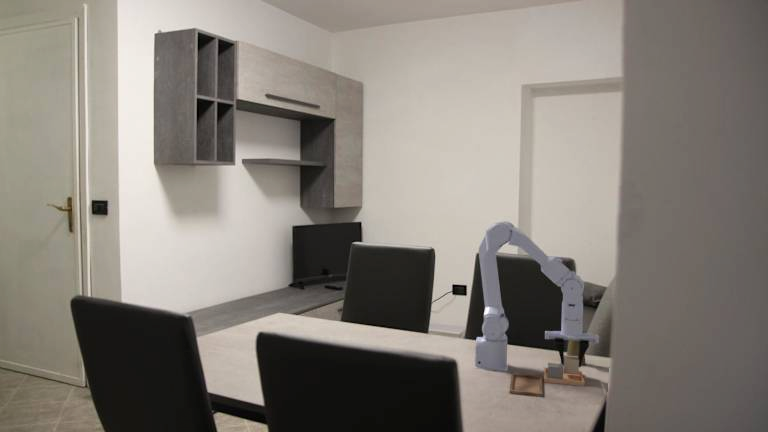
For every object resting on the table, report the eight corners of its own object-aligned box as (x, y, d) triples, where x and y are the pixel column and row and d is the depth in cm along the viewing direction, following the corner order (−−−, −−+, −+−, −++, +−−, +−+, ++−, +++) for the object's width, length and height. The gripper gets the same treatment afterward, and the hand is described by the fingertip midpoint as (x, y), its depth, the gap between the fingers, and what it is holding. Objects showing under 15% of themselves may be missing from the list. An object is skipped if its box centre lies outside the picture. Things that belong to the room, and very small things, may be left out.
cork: (587, 367, 170) (588, 331, 169) (566, 366, 171) (567, 330, 171) (584, 361, 176) (585, 327, 175) (564, 360, 177) (565, 326, 177)
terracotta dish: (543, 383, 154) (544, 378, 154) (543, 372, 164) (543, 367, 164) (584, 387, 151) (584, 382, 151) (581, 375, 162) (581, 370, 161)
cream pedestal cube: (562, 368, 162) (563, 355, 162) (577, 370, 161) (577, 356, 161) (563, 372, 158) (564, 358, 158) (578, 374, 157) (578, 360, 157)
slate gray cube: (547, 376, 159) (547, 362, 159) (562, 378, 158) (562, 364, 158) (547, 380, 155) (548, 366, 155) (562, 382, 154) (563, 368, 154)
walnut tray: (509, 395, 144) (509, 390, 144) (511, 377, 159) (511, 373, 159) (542, 398, 142) (542, 394, 142) (541, 380, 157) (541, 375, 157)
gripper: (545, 319, 157) (544, 367, 157) (600, 323, 153) (599, 372, 153) (545, 314, 164) (544, 360, 164) (598, 318, 160) (596, 364, 160)
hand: (570, 365), depth 159 cm, fingers closed on cream pedestal cube, 4 cm apart
